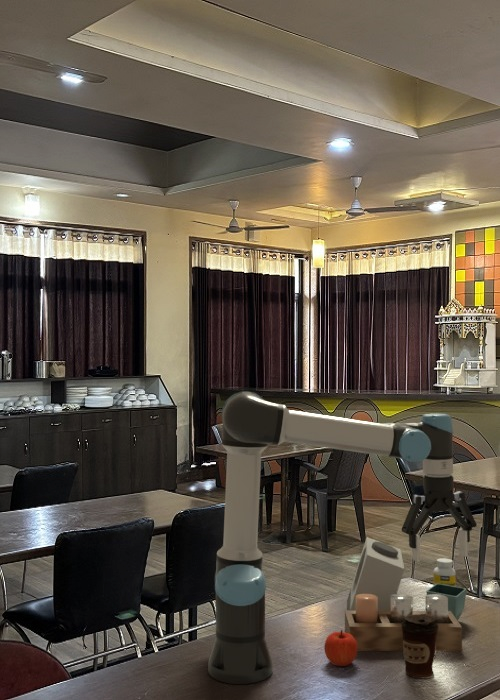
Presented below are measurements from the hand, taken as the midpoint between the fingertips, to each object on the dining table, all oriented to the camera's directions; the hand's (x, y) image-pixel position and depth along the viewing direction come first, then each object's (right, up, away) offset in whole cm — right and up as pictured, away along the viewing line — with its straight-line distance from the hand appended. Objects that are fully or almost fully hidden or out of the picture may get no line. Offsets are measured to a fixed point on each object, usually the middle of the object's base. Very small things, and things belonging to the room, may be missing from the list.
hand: (440, 558), depth 200 cm
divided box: (-9, -22, +3) cm, 24 cm away
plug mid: (-9, -18, +3) cm, 20 cm away
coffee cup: (-9, -23, -17) cm, 30 cm away
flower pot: (+6, -23, +17) cm, 29 cm away
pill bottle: (+10, -22, +37) cm, 45 cm away
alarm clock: (-13, -23, +25) cm, 36 cm away
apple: (-27, -23, -11) cm, 37 cm away
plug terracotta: (-18, -18, +3) cm, 26 cm away
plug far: (0, -18, +2) cm, 18 cm away
